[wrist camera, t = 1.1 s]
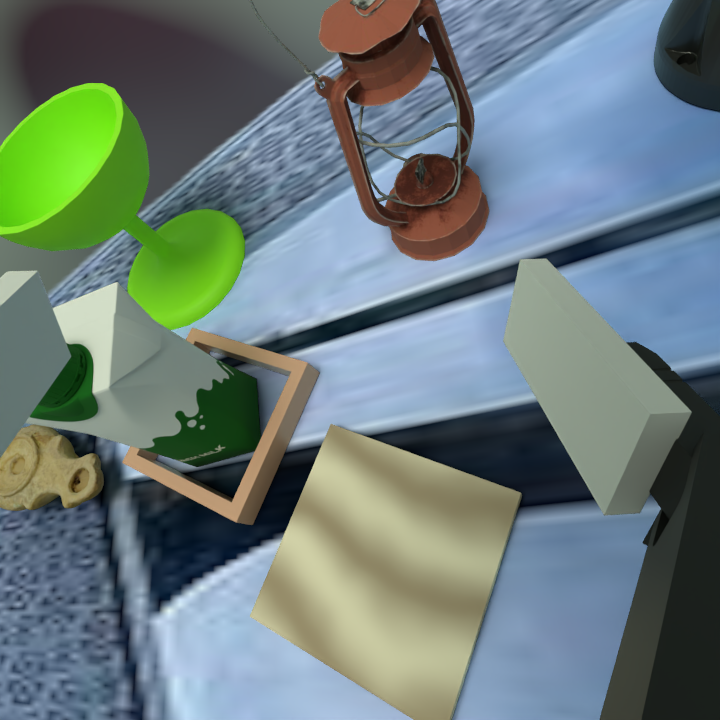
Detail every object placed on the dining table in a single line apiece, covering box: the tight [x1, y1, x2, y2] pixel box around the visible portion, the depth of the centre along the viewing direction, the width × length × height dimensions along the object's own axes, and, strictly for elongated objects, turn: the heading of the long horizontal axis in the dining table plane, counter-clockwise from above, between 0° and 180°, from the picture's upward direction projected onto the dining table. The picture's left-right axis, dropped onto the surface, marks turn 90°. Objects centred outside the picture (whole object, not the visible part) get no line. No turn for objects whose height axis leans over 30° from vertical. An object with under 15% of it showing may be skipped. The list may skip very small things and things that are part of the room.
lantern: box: [249, 0, 489, 261], centre depth 35 cm, size 10×10×30 cm
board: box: [250, 424, 522, 720], centre depth 37 cm, size 16×16×1 cm
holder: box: [122, 328, 319, 525], centre depth 46 cm, size 14×14×2 cm
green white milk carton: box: [25, 282, 261, 467], centre depth 39 cm, size 9×9×20 cm
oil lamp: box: [0, 425, 104, 511], centre depth 50 cm, size 11×14×5 cm
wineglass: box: [0, 83, 245, 330], centre depth 50 cm, size 16×16×18 cm
